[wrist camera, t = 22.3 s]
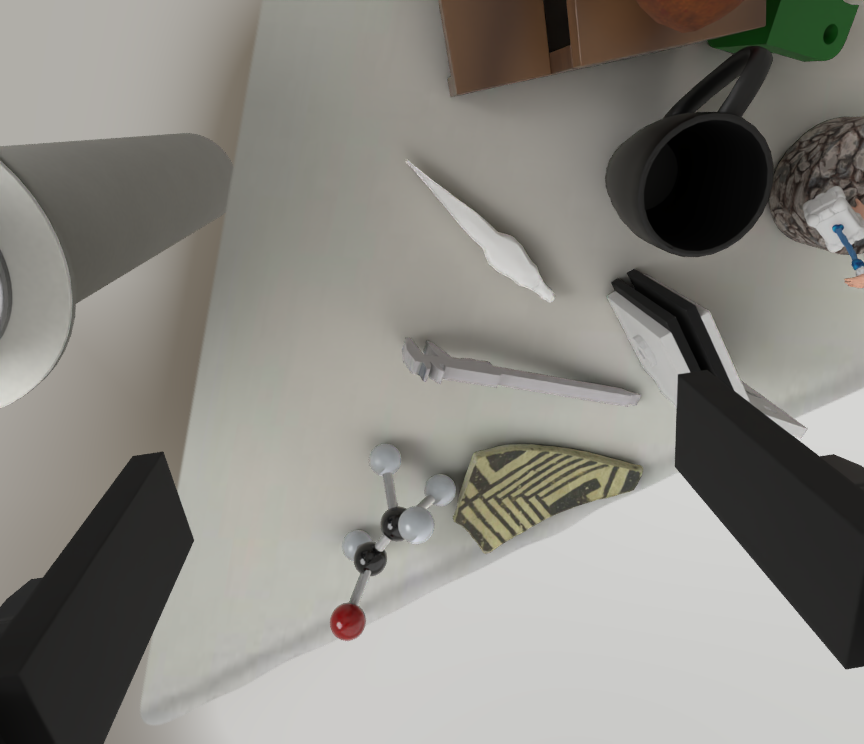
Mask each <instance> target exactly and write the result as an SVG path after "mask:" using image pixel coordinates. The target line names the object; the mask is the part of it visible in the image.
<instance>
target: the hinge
mask: <svg viewBox="0 0 864 744" xmlns="http://www.w3.org/2000/svg"><path fill="white" fill-rule="evenodd" d="M627 274H628V276H629V278H630V280H631V282H632V284H633V286H634V288H635V289H633V288H632V287H630V286H629V285H627V284H626V283H624V282H623V281H622V280H620V279H619V278H618V279H616V280H614V281H613V282H611V283H612V285H613V287H614V289H615V291H614V292H612V293H611V294H609V295H607V296H606V297H607V299H608V301H609V303H610V305H611V307H612V309H613V310H614V312H615V314H616V316H617V318H618V320H619V322H620V324H621V326H622V328H623V330H624V332H625V334H626V336H627V338H628V340H629V341H630V343H631V345H632V347H633V349H634V351H635V353H636V355H637V357H638V359H639V361H640V363H641V365H642V367H643V369H644V370H645V371H646V372H647V373H648V374H649V375H650V376H651V377H652V378H653V379H654V381H655V382H656V384H657V386H658V388H659V390H660V392H661V393H662V394H663V395H664V396H665V397H666V398H667V399H668V400H669V401H670V402H671V403H672V404H673V405H674V406H675V407H676V408H677V384H678V374H683V373H690V372H697V371H703V370H708V371H709V372H711V373H712V374H713V375H715V376H716V377H717V378H718V379H720V380H721V381H722V382H724V383H725V384H726V385H727V386H729V387H730V388H731V389H733V390H734V391H735V392H737V393H738V394H739V395H740V396H742V397H743V398H744V399H746V400H747V401H748V402H750V403H751V404H752V405H753V406H755V407H756V408H757V409H759V410H760V411H761V412H763V413H764V414H765V415H766V416H768V417H769V418H770V419H772V420H773V421H774V422H775V423H777V424H778V425H779V426H781V427H782V428H783V429H785V430H786V431H787V432H788V433H790V434H791V435H793V436H796V437H799V438H802V437H803V435H804V433H805V432H806V431H807V428H806V427H804V426H803V425H802V424H800V423H799V422H797V421H796V420H795V419H793V418H792V417H791V416H789V415H788V414H787V413H785V412H784V411H783V410H781V409H780V408H778V407H777V406H776V405H774V404H773V403H772V402H770V401H769V400H767V399H766V398H765V397H763V396H762V395H761V394H759V393H758V392H756V391H755V390H754V389H752V388H751V387H750V386H748V385H747V384H745V383H744V382H743V381H741V380H740V378H739V375H738V373H737V371H736V369H735V366H734V364H733V362H732V360H731V357H730V355H729V353H728V351H727V348H726V346H725V344H724V342H723V339H722V337H721V335H720V333H719V330H718V328H717V326H716V324H715V321H714V319H713V317H712V315H711V312H710V311H708V310H707V309H705V308H703V307H702V306H700V305H698V304H696V303H695V302H693V301H691V300H690V299H688V298H686V297H685V296H683V295H681V294H679V293H678V292H676V291H674V290H673V289H671V288H669V287H667V286H666V285H664V284H662V283H661V282H659V281H657V280H656V279H654V278H652V277H650V276H649V275H647V274H645V275H644V274H642V273H640V272H639V271H637V270H635V269H633V270H631V271H629V272H628V273H627Z"/></svg>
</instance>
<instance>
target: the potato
mask: <svg viewBox="0 0 864 744" xmlns="http://www.w3.org/2000/svg"><path fill="white" fill-rule="evenodd" d="M636 1H637V3H638V4H639V6H640V7H641V8H642V9H643V10H644V11H645V12H646V13H647V14H648V15H649V16H650V17H651V18H652V19H653V20H654V21H655V22H657V23H659V24H662V25H665V26H667V27H669V28H672V29H674V30H676V31H679V32H681V33H686V32H693V31H697V30H699V29H701V28H703V27H705V26H707V25H709V24H711V23H713V22H715V21H718V20H720V19H721V18H722V17H724V16H725V15H727V14H728V13H730V12H731V11H733V10H734V9H735V8H736V7H737V6H739V5H740V4H741V3H742V2H743V1H744V0H636Z"/></svg>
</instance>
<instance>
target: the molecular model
mask: <svg viewBox="0 0 864 744" xmlns="http://www.w3.org/2000/svg"><path fill="white" fill-rule="evenodd" d="M369 465H370V467H371V469H372V470H373V471H374V472H375V473H376V474H378V475H380V476H383V480H384V486H385V492H386V498H387V504H388V510H387V511H386V512H385V513H384V514H383V516H382V518H381V530H382V532H383V535H382V536H381V537H380V539H379V540H378V541H377V543H376V542H372V539H371V537H370V535H369V534H368V533H366V532H365V531H362V530H354V531H351V532H350V533H348V534H347V535H346V536H345V538H344V540H343V543H342V550H343V553H344V555H345V556H346V557H347V558H348V559H349V560H351V561H354V565H355V567H356V569H357V570H358V572H360V576H359V578H358V581H357V583H356V586H355V588H354V591H353V593H352V596H351V598H350V601H349V603H343V604H341V605H339V606H338V607H337V608H336V609H335V610H334V611H333V613H332V615H331V618H330V627H331V630H332V632H333V634H334V635H335V636H336V637H337V638H339V639H341V640H345V641H350V640H353V639H355V638H357V637H358V636H359V635H360V634H361V633H362V632H363V630H364V628H365V623H366V618H365V614H364V612H363V610H362V609H361V608H360V607H359V603H360V601H361V598H362V596H363V593H364V590H365V588H366V585H367V583H368V580H369V577H370V576H375V575H377V574H379V573H380V572H381V571H382V570H383V569H384V568H385V566H386V563H387V554H386V551H385V548H386V546H387V545H388V544H389V542H390V541H391V540H392V541H403V540H406V541H407V542H409V543H412V544H420V543H423V542H425V541H427V540H428V539H429V538H430V537H431V535H432V534H433V531H434V519H433V516H432V515H431V513H430V512H429V511H428V510H427V509H428V508H429V507H430V506H431V505H432V504H433V505H436V506H445V505H447V504H449V503H450V502H451V501H452V500H453V499H454V497H455V494H456V486H455V483H454V482H453V480H452V479H451V478H450V477H449V476H447V475H444V474H437V475H434V476H432V477H430V478H429V479H428V481H427V482H426V485H425V496H426V497H425V498H424V499H423V500H422V501H421V502H420V503H419V504H418V505H417V506H414V507H410V508H408V509H406V508H404V507H400V506H398V503H397V497H396V491H395V486H394V480H393V474H394V473H395V472H396V471H397V470H398V469H399V467H400V465H401V455H400V452H399V450H398V449H397V448H396V447H395V446H393V445H391V444H386V443H384V444H380V445H377V446H376V447H374V448H373V450H372V451H371V453H370V455H369Z"/></svg>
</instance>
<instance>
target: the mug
mask: <svg viewBox="0 0 864 744" xmlns="http://www.w3.org/2000/svg"><path fill="white" fill-rule="evenodd" d="M772 61H773V57H772V54H771V52H770V51H769V50H767V49H766V48H763V47H761V46H747V47H745V48H743V49H741V50H739V51H738V52H736V53H735V54H733V55H732V56H731V57H729V58H728V59H727V60H726V61H724V62H723V63H722V64H721V65H719V66H718V67H717V68H716V69H715V70H713V71H712V72H711V73H710V74H709V75H707V76H706V77H705V78H704V79H703V80H702V81H700V82H699V83H698V84H697V85H696V86H695V87H694V88H692V89H691V90H690V91H689V92H688V93H687V94H686V95H685V96H683V97H682V98H681V99H680V100H679V101H678V102H677V103H676V104H675V105H674V106H673V107H672V108H671V109H670V110H669V112H668V113H667V114H666V115H665V117H664V118H663V119H662V120H659V121H657V122H655V123H653V124H650V125H648V126H646V127H644V128H643V129H641V130H640V131H638V132H637V133H635V134H634V135H633V136H631V137H630V138H629V139H628V140H627V141H625V142H624V143H623V144H621V145H620V146H619V148H618V149H617V150H616V151H615V152H614V154H613V155H612V157H611V159H610V161H609V163H608V166H607V170H606V176H605V181H606V189H607V192H608V195H609V197H610V199H611V202H612V205H613V207H614V208H615V210H616V212H617V213H618V215H619V217H620V219H621V220H622V221H623V222H624V223H625V224H626V225H627V226H628V227H629V229H630V230H631V231H632V232H633V233H635V234H636V235H637V236H638V237H640V238H641V239H643V240H645V241H646V242H648V243H650V244H652V245H654V246H656V247H658V248H660V249H662V250H664V251H667V252H669V253H672V254H675V255H679V256H682V257H700V256H706V255H711V254H714V253H717V252H719V251H721V250H724V249H726V248H728V247H730V246H731V245H732V244H734V243H735V242H737V241H738V240H740V239H741V238H742V237H743V236H744V235H745V234H746V233H747V232H748V231H749V230H750V229H751V228H752V227H753V226H754V225H755V223H756V222H757V220H758V219H759V217H760V216H761V215H762V213H763V211H764V208H765V206H766V204H767V202H768V200H769V197H770V193H771V189H772V185H773V170H774V167H773V161H772V155H771V151H770V149H769V147H768V144H767V142H766V140H765V138H764V137H763V136H762V134H761V133H760V132H759V131H758V129H757V128H756V127H755V126H754V125H752V124H751V123H749V122H748V121H746V120H745V119H744V118H742V115H743V114H744V112H745V111H746V109H747V108H748V106H749V105H750V103H751V102H752V100H753V98H754V97H755V95H756V94H757V92H758V90H759V89H760V87H761V85H762V83H763V81H764V80H765V78H766V76H767V74H768V72H769V69H770V66H771V64H772ZM739 76H740V77H739ZM737 77H739V79H738V80H737V82H736V84H735V85H734V87H733V89H732V90H731V92H730V93H729V95H728V97H727V98H726V100H725V101H724V103H723V104H722V106H721V107H720V109H719V110H718V112H696V111H697V110H698V109H699V108H700V107H701V106H702V105H703V104H705V103H706V102H707V101H708V100H709V99H710V98H712V97H713V96H714V95H715V94H717V93H718V92H719V91H720V90H722V89H723V88H724V87H725V86H727V85H728V84H729V83H731V82H732V81H733V80H734V79H736V78H737Z"/></svg>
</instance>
